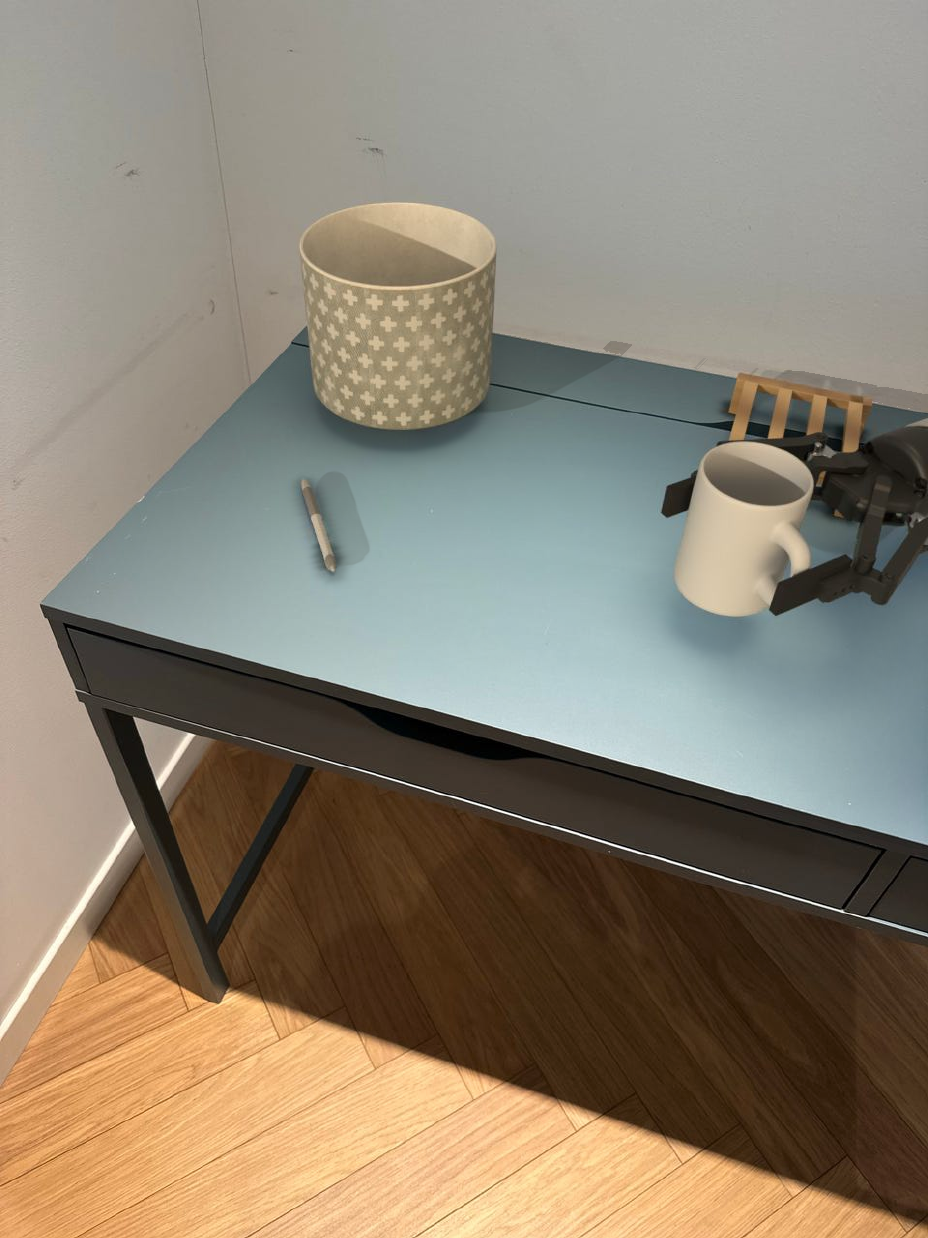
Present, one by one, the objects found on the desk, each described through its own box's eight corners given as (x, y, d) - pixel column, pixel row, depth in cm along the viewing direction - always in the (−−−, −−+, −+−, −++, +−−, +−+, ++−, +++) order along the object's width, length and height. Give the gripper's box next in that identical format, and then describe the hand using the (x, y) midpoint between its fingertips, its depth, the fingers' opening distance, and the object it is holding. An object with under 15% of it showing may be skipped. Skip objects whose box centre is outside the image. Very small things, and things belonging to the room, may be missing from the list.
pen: (328, 579, 86) (327, 567, 85) (299, 486, 95) (297, 475, 94) (339, 577, 86) (338, 565, 85) (309, 484, 95) (308, 473, 94)
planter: (509, 441, 101) (520, 276, 88) (330, 465, 97) (314, 296, 84) (464, 350, 114) (468, 194, 101) (304, 368, 110) (287, 209, 97)
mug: (653, 561, 81) (677, 452, 73) (739, 538, 83) (771, 430, 75) (732, 659, 73) (768, 550, 65) (825, 631, 75) (870, 522, 67)
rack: (850, 519, 93) (864, 485, 90) (706, 487, 96) (715, 452, 93) (860, 431, 104) (872, 397, 101) (730, 405, 107) (738, 371, 104)
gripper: (1023, 589, 75) (820, 688, 67) (804, 433, 90) (617, 499, 82) (1068, 514, 70) (853, 612, 62) (828, 361, 85) (630, 424, 77)
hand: (718, 548), depth 72 cm, fingers closed on mug, 12 cm apart
